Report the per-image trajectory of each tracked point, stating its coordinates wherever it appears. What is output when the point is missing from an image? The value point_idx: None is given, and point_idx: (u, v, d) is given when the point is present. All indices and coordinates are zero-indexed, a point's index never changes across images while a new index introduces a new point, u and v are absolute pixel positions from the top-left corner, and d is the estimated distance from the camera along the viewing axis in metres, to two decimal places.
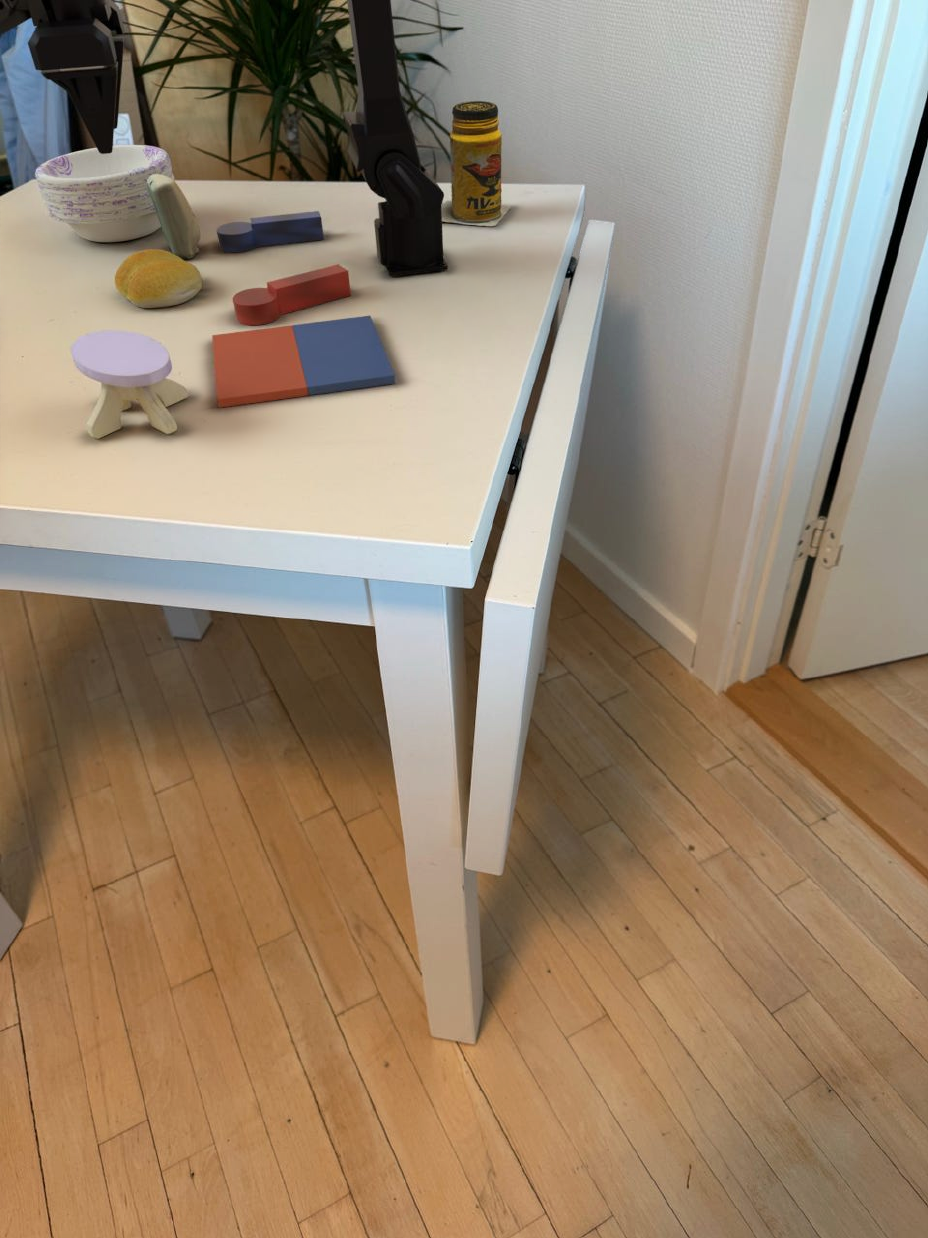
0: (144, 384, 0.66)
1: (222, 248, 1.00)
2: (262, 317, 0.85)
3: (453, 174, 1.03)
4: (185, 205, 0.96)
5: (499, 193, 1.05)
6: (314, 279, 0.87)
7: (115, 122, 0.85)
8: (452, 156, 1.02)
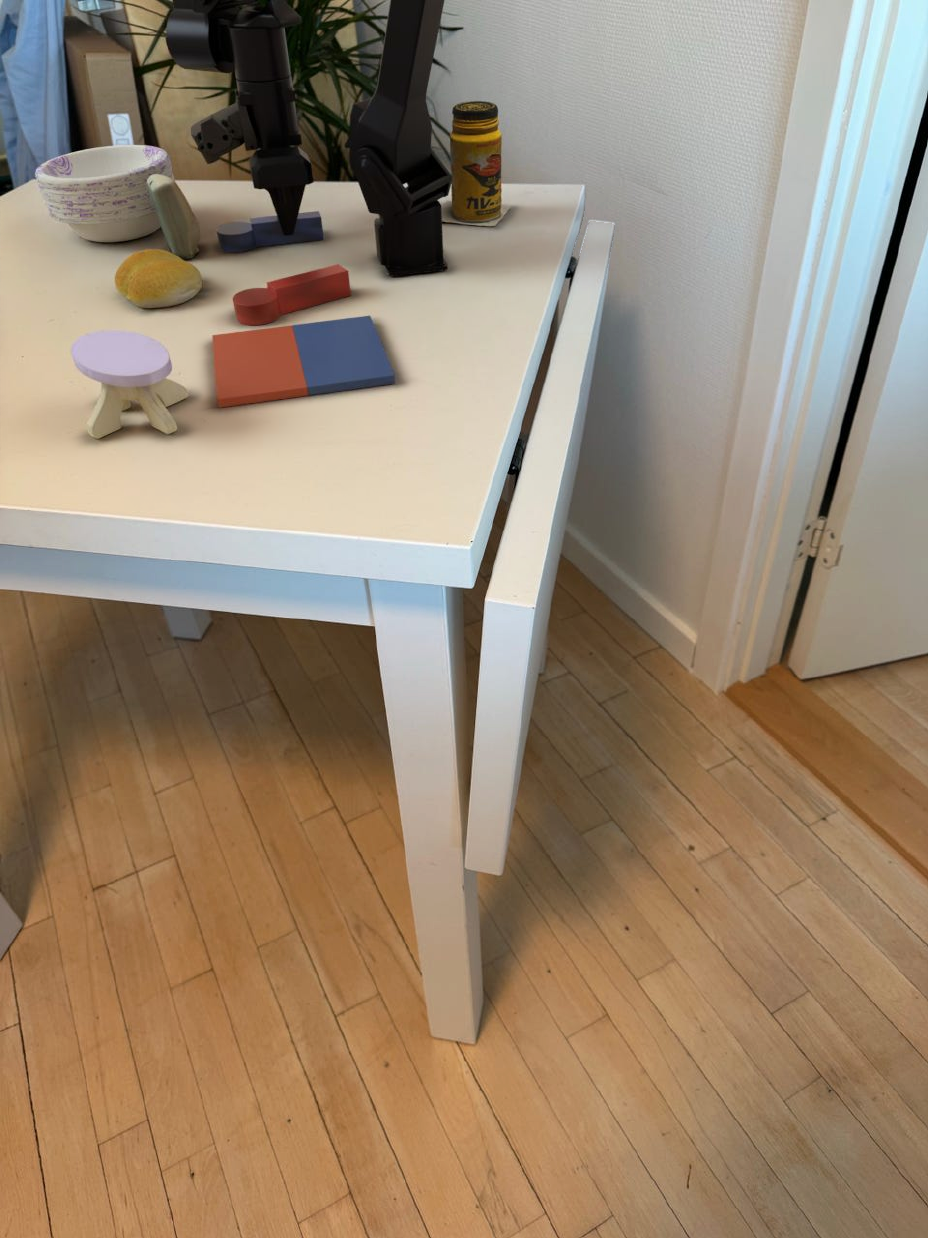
0: (144, 384, 0.66)
1: (222, 248, 1.00)
2: (262, 317, 0.85)
3: (453, 174, 1.03)
4: (185, 205, 0.96)
5: (499, 193, 1.05)
6: (314, 279, 0.87)
7: None
8: (452, 156, 1.02)
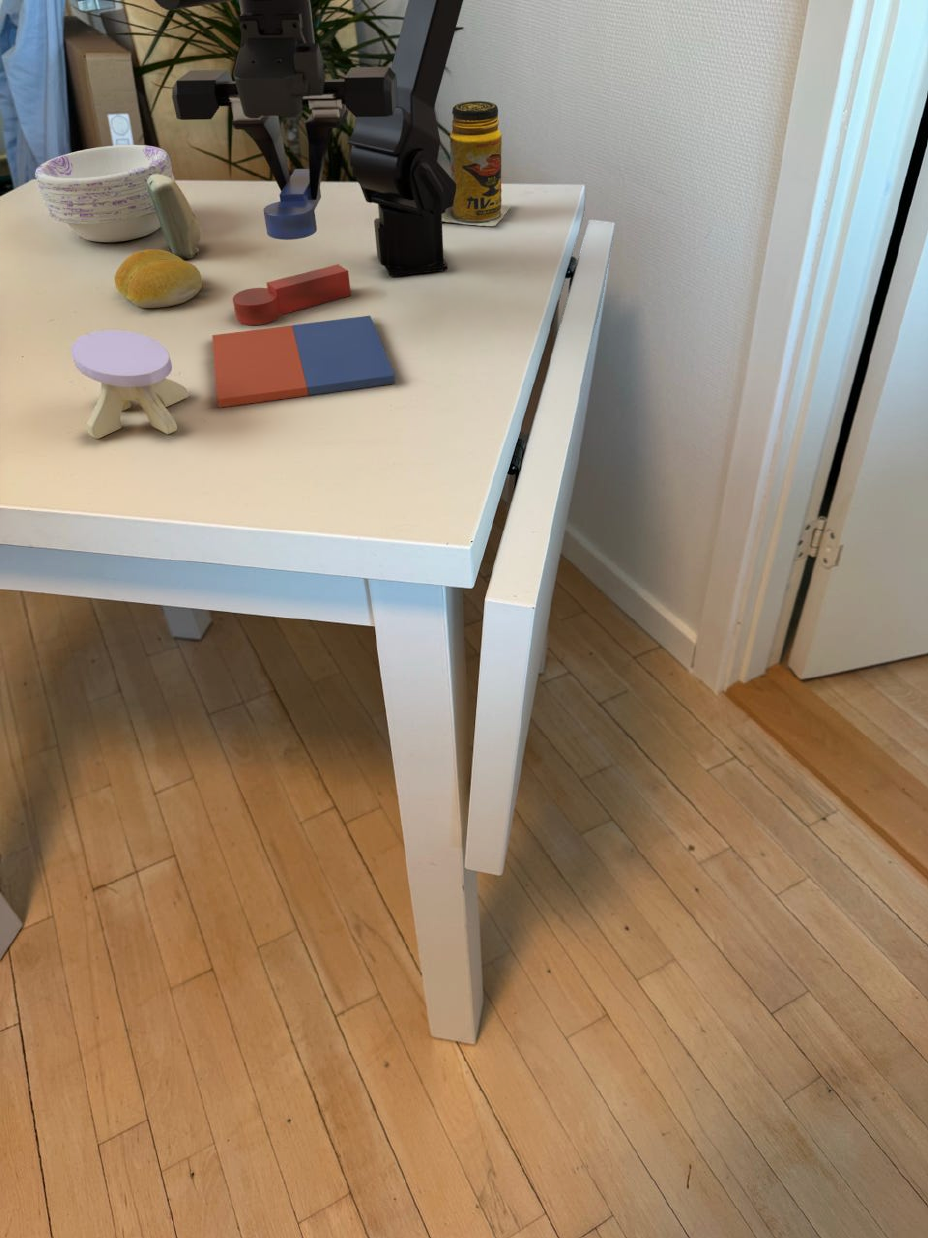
0: (144, 384, 0.66)
1: (300, 235, 0.76)
2: (262, 317, 0.85)
3: (453, 174, 1.03)
4: (185, 205, 0.96)
5: (499, 193, 1.05)
6: (314, 279, 0.87)
7: None
8: (452, 156, 1.02)
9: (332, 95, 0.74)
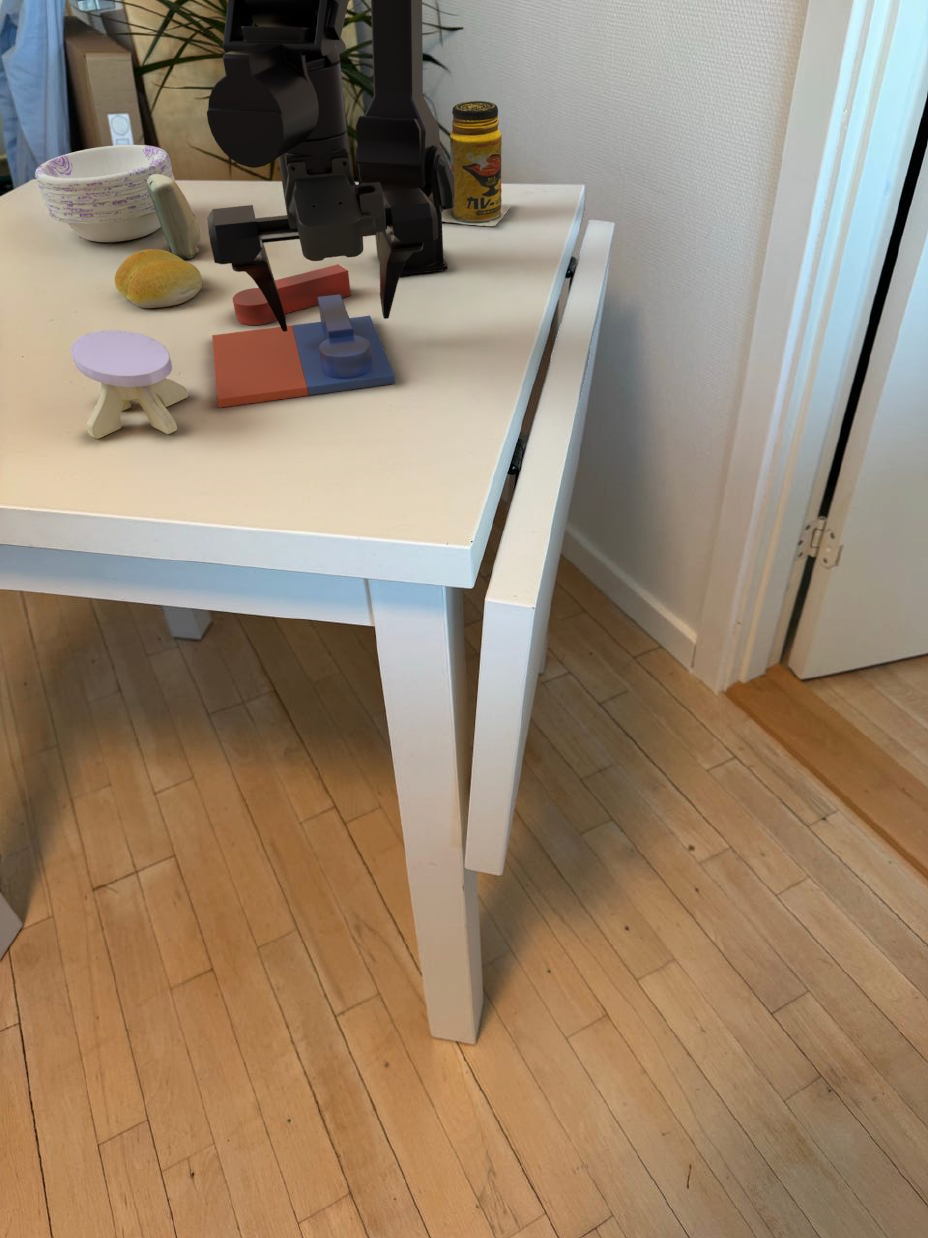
0: (144, 384, 0.66)
1: (362, 372, 0.75)
2: (262, 317, 0.85)
3: (453, 174, 1.03)
4: (185, 205, 0.96)
5: (499, 193, 1.05)
6: (314, 279, 0.87)
7: None
8: (452, 156, 1.02)
9: None
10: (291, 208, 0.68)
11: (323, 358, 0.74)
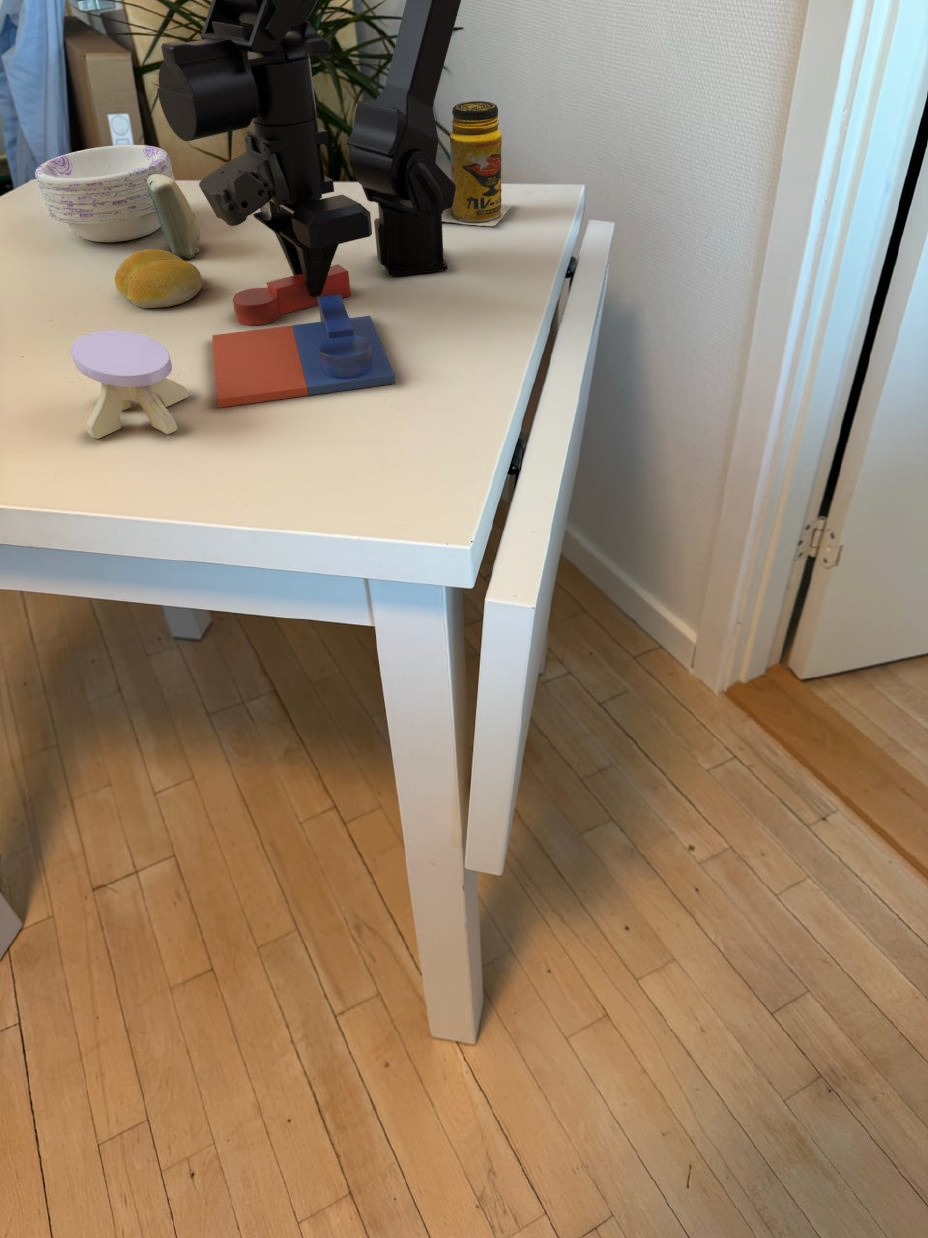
0: (144, 384, 0.66)
1: (362, 372, 0.75)
2: (262, 317, 0.85)
3: (453, 174, 1.03)
4: (185, 205, 0.96)
5: (499, 193, 1.05)
6: None
7: None
8: (452, 156, 1.02)
9: None
10: None
11: (323, 358, 0.74)
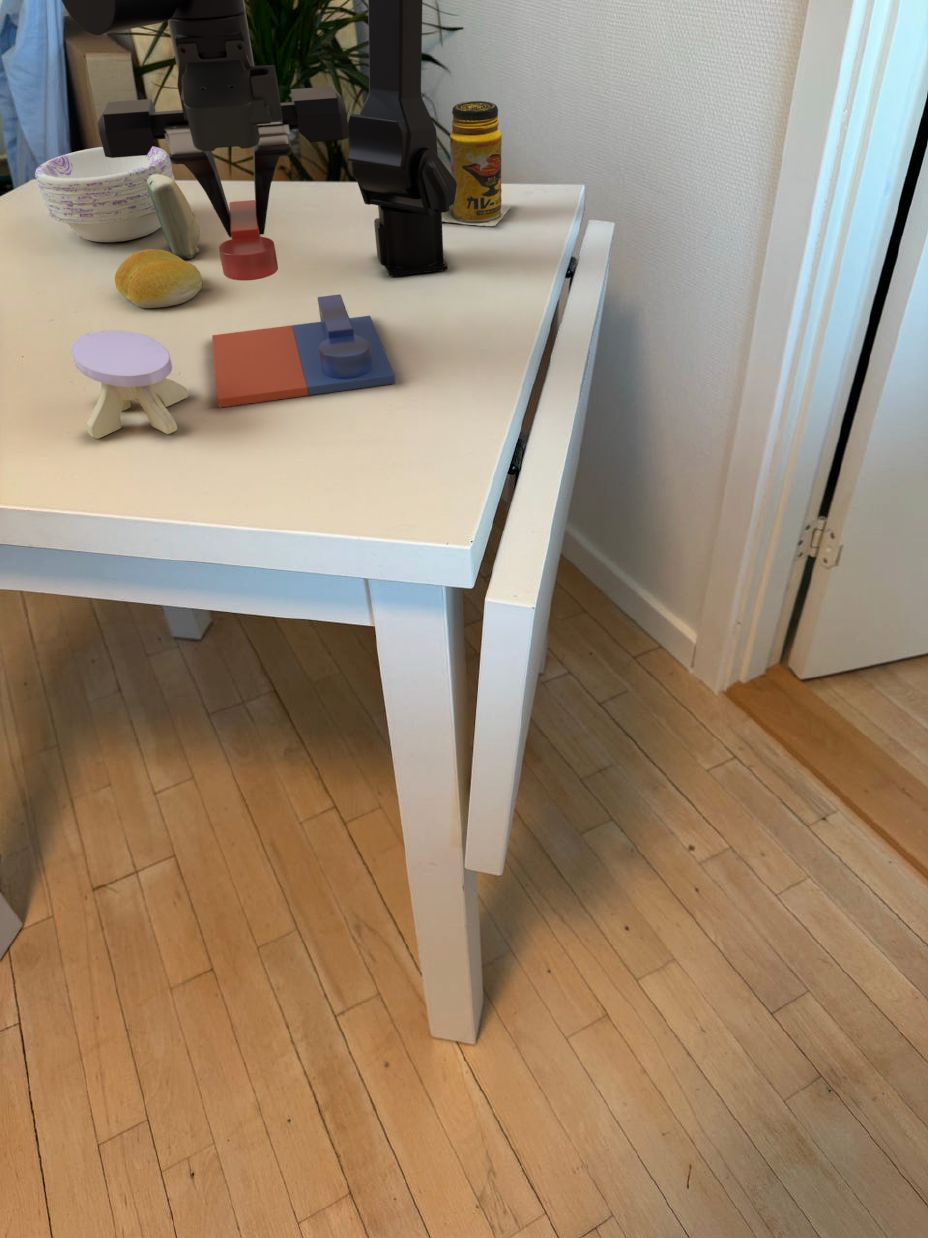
0: (144, 384, 0.66)
1: (362, 372, 0.75)
2: (276, 261, 0.70)
3: (453, 174, 1.03)
4: (185, 205, 0.96)
5: (499, 193, 1.05)
6: None
7: None
8: (452, 156, 1.02)
9: None
10: (182, 94, 0.64)
11: (323, 358, 0.74)
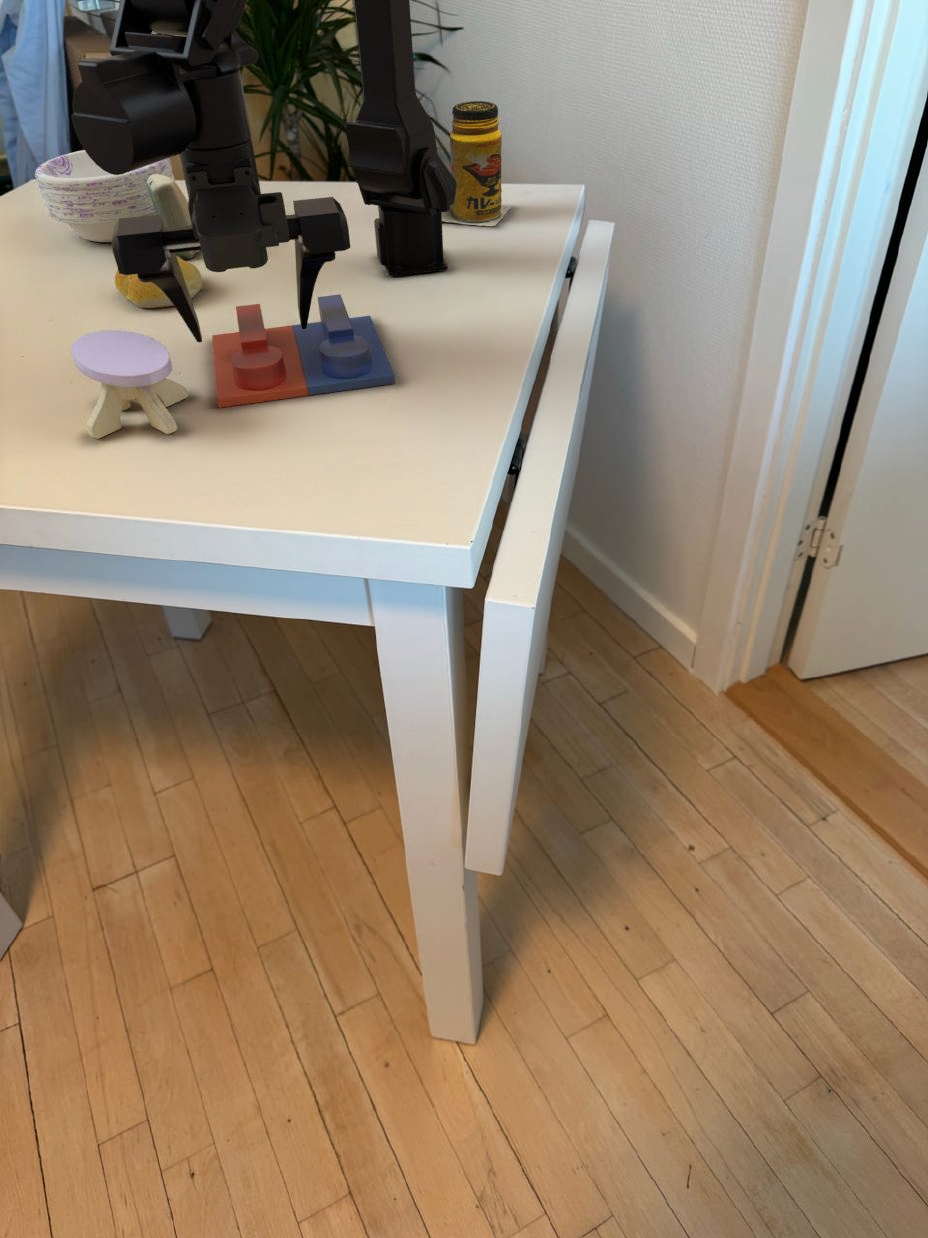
0: (144, 384, 0.66)
1: (362, 372, 0.75)
2: (284, 369, 0.74)
3: (453, 174, 1.03)
4: (185, 205, 0.96)
5: (499, 193, 1.05)
6: (262, 319, 0.78)
7: (200, 332, 0.77)
8: (452, 156, 1.02)
9: None
10: (193, 218, 0.67)
11: (323, 358, 0.74)
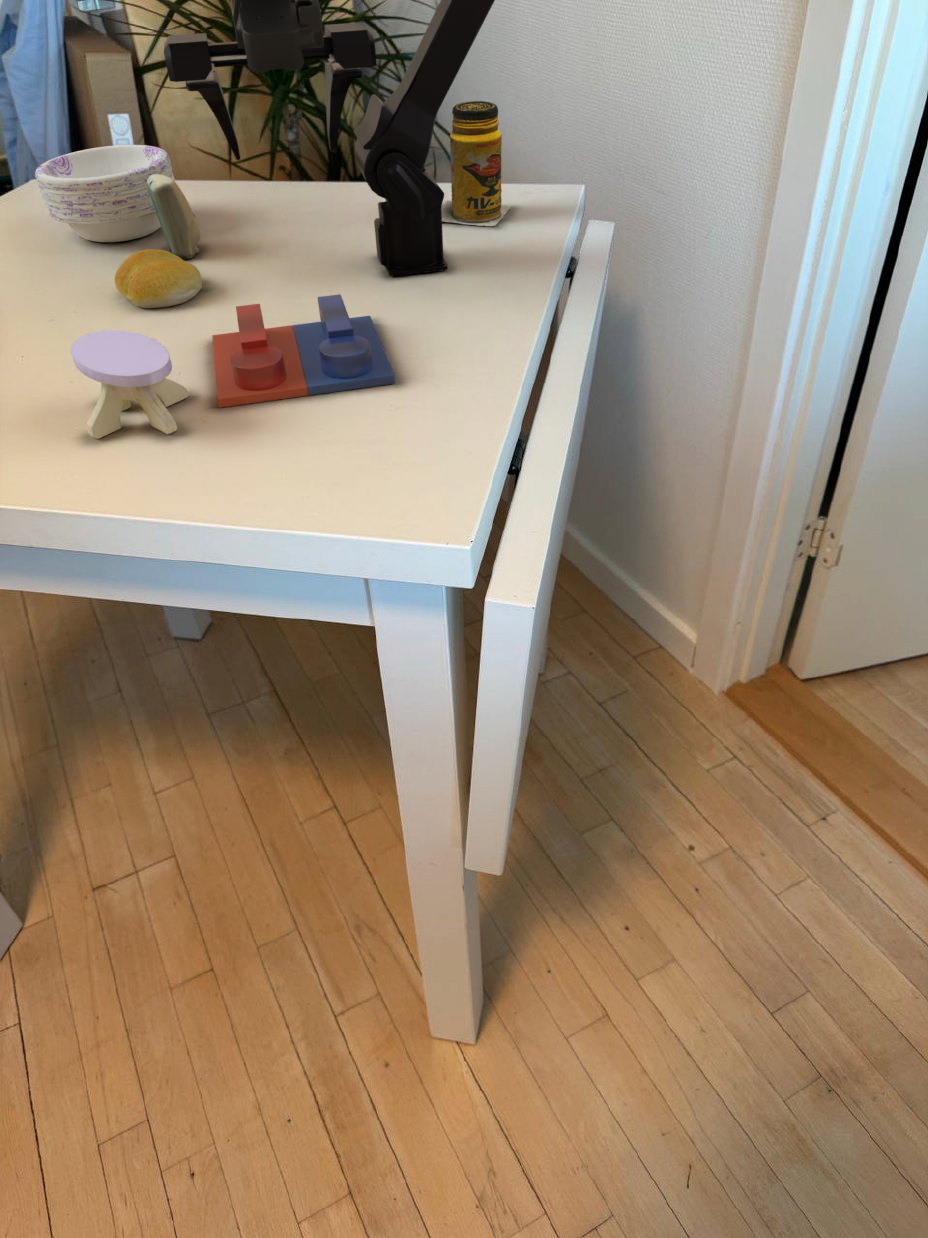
0: (144, 384, 0.66)
1: (362, 372, 0.75)
2: (284, 369, 0.74)
3: (453, 174, 1.03)
4: (185, 205, 0.96)
5: (499, 193, 1.05)
6: (262, 319, 0.78)
7: None
8: (452, 156, 1.02)
9: None
10: (238, 24, 0.75)
11: (323, 358, 0.74)
